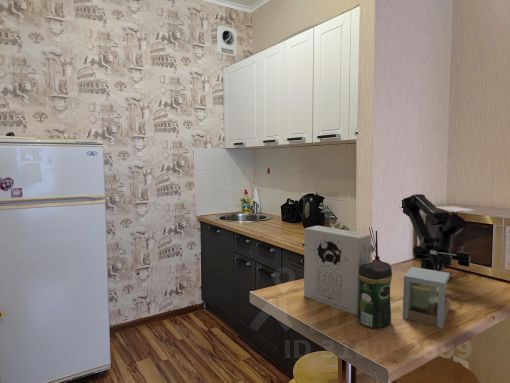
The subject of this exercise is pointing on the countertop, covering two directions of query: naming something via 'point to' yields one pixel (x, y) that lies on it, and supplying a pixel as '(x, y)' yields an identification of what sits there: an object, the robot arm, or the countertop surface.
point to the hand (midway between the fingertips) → (437, 275)
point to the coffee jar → (375, 294)
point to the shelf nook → (430, 279)
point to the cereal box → (335, 266)
